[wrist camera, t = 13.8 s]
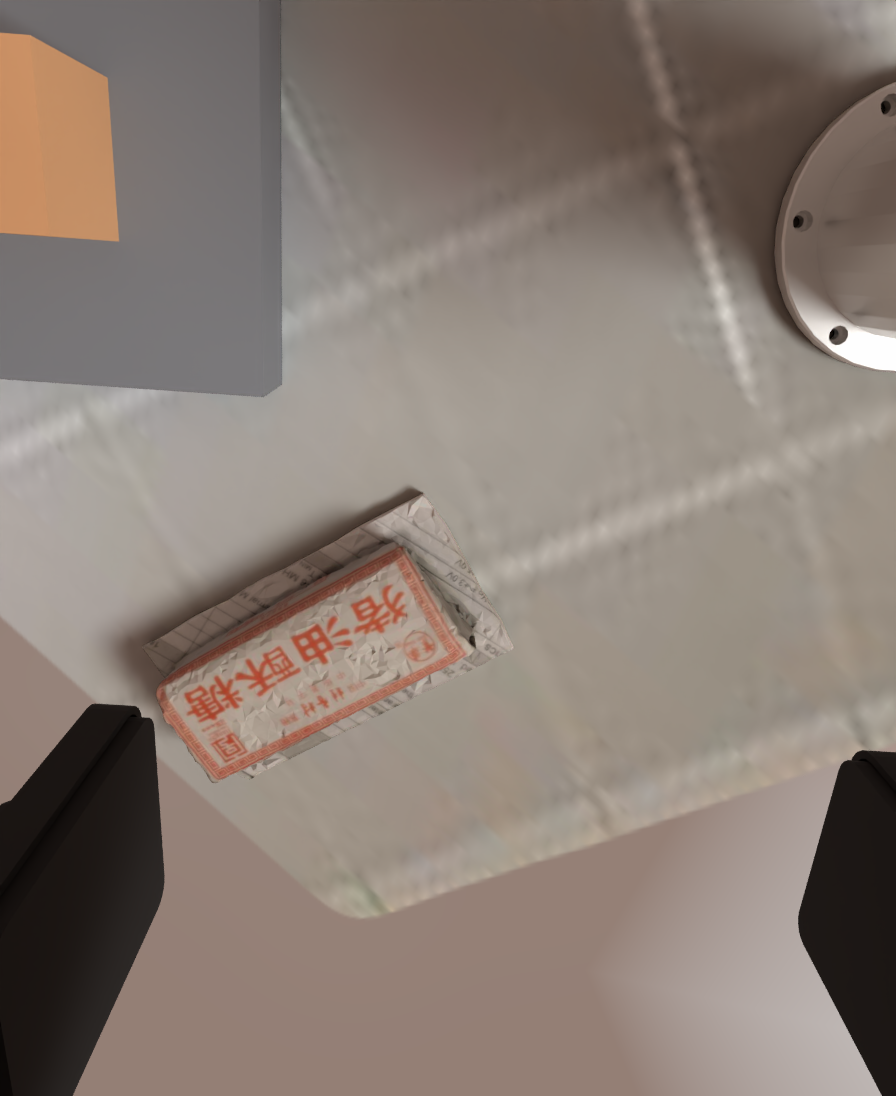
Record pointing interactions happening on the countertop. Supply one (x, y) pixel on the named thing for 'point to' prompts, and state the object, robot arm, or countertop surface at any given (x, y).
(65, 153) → the cube
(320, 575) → the packaged product
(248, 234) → the plinth
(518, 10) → the countertop surface
